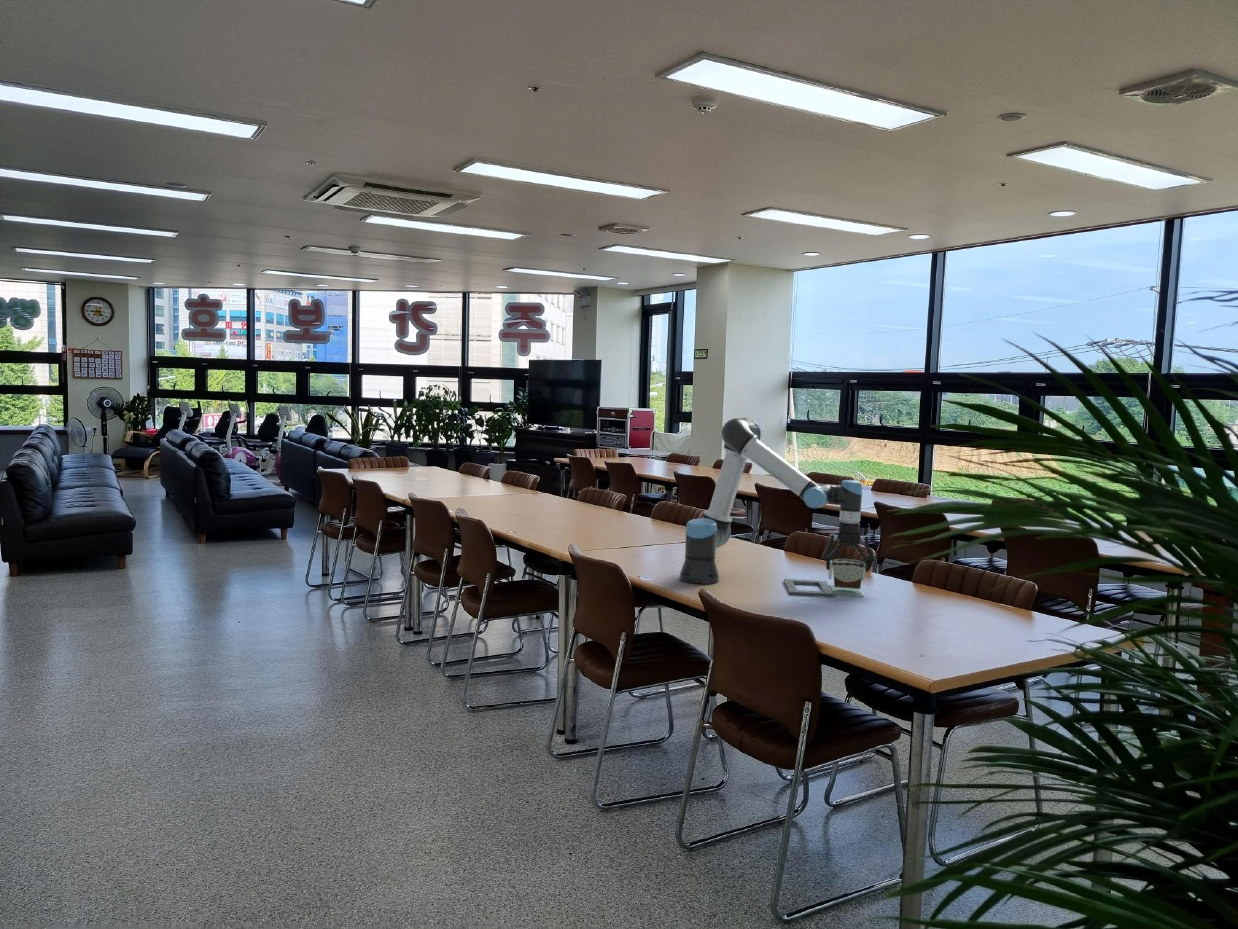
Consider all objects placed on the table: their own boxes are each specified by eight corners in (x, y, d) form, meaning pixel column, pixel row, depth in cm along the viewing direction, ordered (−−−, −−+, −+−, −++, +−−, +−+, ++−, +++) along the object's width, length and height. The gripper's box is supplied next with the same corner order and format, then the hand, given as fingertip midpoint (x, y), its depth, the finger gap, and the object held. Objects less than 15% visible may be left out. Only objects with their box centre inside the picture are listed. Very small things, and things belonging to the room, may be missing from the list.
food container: (863, 586, 320) (865, 559, 319) (864, 589, 314) (865, 562, 313) (830, 583, 323) (831, 557, 322) (830, 586, 317) (831, 560, 316)
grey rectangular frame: (789, 594, 310) (789, 591, 310) (783, 581, 332) (783, 578, 332) (834, 597, 309) (834, 594, 308) (825, 584, 330) (825, 581, 330)
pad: (835, 595, 311) (835, 594, 311) (829, 585, 327) (829, 584, 327) (863, 597, 310) (863, 596, 310) (855, 587, 326) (855, 586, 326)
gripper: (818, 521, 314) (815, 579, 316) (884, 524, 312) (880, 583, 314) (815, 518, 322) (812, 575, 323) (880, 521, 319) (876, 578, 321)
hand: (846, 579), depth 319 cm, fingers closed on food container, 11 cm apart
